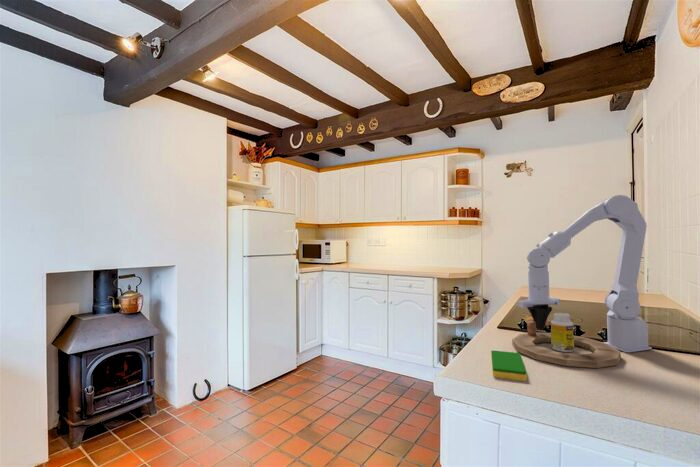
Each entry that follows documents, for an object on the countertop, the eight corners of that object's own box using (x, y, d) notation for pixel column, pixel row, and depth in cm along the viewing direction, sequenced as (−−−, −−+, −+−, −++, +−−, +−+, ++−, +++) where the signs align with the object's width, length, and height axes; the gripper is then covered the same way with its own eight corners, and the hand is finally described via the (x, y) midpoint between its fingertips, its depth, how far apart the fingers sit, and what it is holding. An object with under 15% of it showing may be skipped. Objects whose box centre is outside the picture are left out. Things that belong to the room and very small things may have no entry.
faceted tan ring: (559, 334, 110) (558, 317, 110) (644, 360, 86) (643, 338, 86) (495, 342, 103) (494, 324, 104) (568, 372, 79) (567, 349, 79)
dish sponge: (520, 361, 89) (520, 352, 89) (526, 382, 76) (526, 372, 76) (491, 358, 91) (491, 349, 92) (492, 378, 79) (492, 368, 79)
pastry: (557, 329, 118) (556, 318, 118) (544, 332, 115) (543, 321, 115) (533, 323, 126) (532, 313, 126) (520, 326, 124) (520, 315, 124)
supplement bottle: (568, 354, 92) (567, 317, 93) (547, 349, 97) (546, 313, 97) (577, 350, 96) (576, 314, 96) (556, 345, 100) (555, 311, 100)
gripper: (546, 283, 112) (547, 323, 112) (510, 285, 108) (511, 327, 108) (565, 285, 105) (566, 329, 105) (527, 288, 101) (528, 333, 101)
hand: (540, 328), depth 106 cm, fingers closed
